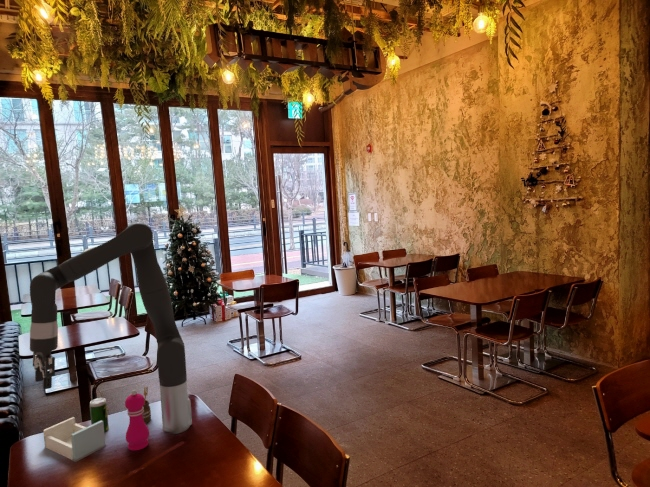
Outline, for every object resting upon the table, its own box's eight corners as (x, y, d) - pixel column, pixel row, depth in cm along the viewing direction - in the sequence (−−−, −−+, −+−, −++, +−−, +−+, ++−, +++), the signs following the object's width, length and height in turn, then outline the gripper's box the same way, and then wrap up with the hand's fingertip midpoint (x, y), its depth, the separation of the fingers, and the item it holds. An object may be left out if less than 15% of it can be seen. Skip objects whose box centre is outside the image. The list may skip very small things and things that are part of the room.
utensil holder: (130, 423, 163) (128, 392, 162) (142, 415, 169) (139, 385, 168) (143, 425, 162) (141, 394, 160) (155, 417, 168) (152, 387, 166)
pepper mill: (122, 448, 146) (118, 390, 145) (144, 439, 152) (139, 383, 150) (132, 456, 142) (127, 396, 140) (154, 447, 147) (149, 389, 145)
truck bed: (74, 435, 156) (73, 417, 155) (102, 447, 148) (100, 427, 147) (45, 450, 147) (43, 430, 147) (72, 462, 139) (70, 441, 139)
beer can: (93, 438, 154) (90, 405, 153) (91, 432, 158) (88, 400, 157) (110, 433, 157) (107, 401, 155) (107, 427, 161) (105, 396, 160)
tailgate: (103, 446, 148) (101, 420, 147) (106, 448, 147) (104, 421, 146) (72, 463, 139) (69, 434, 138) (75, 464, 138) (72, 435, 137)
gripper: (64, 337, 139) (63, 388, 140) (50, 328, 149) (49, 376, 149) (37, 341, 133) (36, 394, 134) (24, 332, 143) (23, 381, 144)
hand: (43, 384), depth 142 cm, fingers open, 8 cm apart
